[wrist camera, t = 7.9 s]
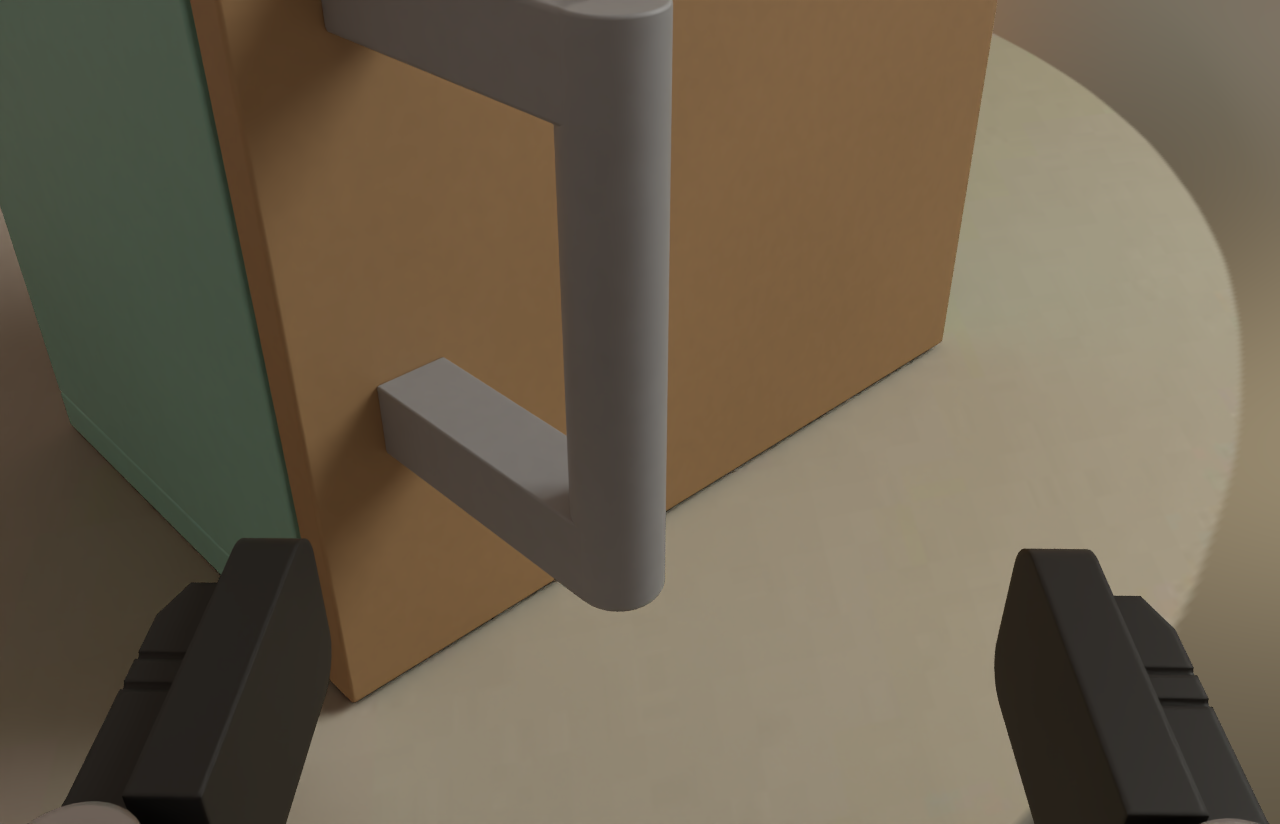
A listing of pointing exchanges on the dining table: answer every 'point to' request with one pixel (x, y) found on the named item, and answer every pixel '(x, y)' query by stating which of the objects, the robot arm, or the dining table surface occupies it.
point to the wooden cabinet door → (571, 269)
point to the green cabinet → (140, 260)
